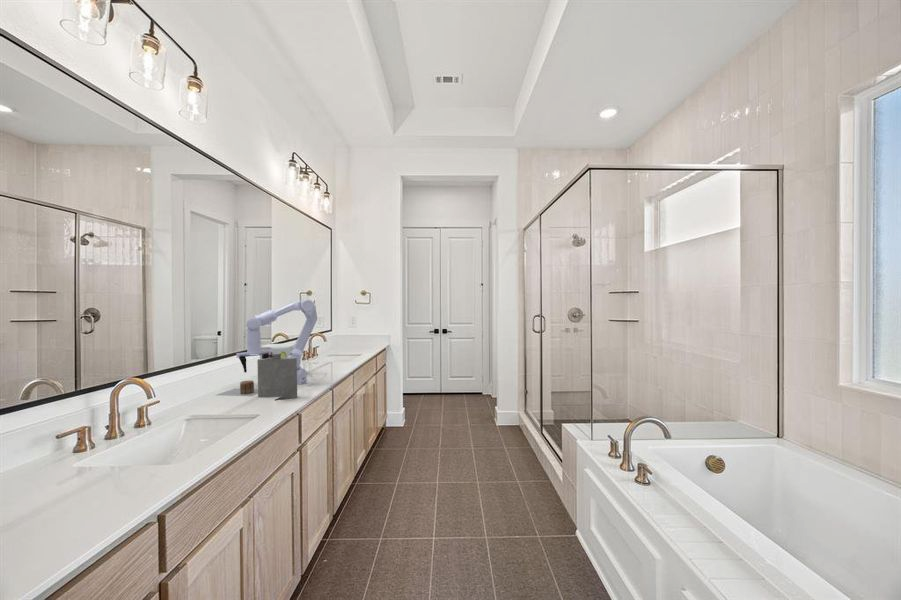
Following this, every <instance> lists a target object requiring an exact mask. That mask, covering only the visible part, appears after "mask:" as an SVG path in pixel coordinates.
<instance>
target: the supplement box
mask: <svg viewBox="0 0 901 600" xmlns="http://www.w3.org/2000/svg"><path fill="white" fill-rule="evenodd" d="M295 344H296V342H295V343H268V344H264V345H261V351H266V350H271V355H269V358H273V356H272V354H273V353H281V355H280V356H281V358H286V357H287V356H288V355H289V354H290V353H291V351H292V349H293V348H294V346H295ZM259 359H262V355H259Z"/></svg>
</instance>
